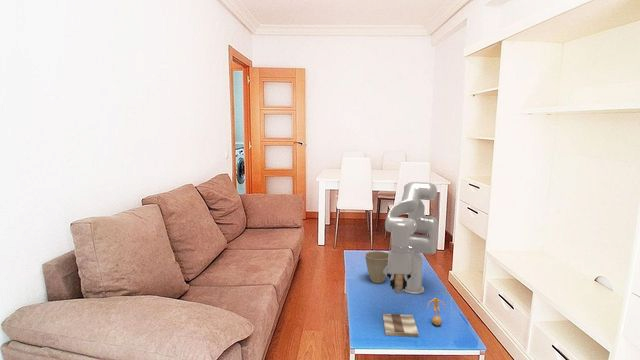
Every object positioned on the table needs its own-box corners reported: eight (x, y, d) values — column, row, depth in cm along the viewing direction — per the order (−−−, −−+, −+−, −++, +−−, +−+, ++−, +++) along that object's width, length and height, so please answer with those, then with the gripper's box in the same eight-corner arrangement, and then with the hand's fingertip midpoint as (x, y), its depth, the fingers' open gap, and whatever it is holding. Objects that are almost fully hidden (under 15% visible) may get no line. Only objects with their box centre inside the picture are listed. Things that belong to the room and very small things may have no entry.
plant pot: (388, 276, 220) (389, 251, 218) (391, 286, 206) (391, 259, 203) (364, 275, 222) (364, 250, 220) (364, 285, 207) (365, 258, 205)
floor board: (382, 316, 172) (382, 313, 172) (412, 318, 171) (412, 314, 171) (385, 335, 156) (385, 331, 156) (418, 337, 155) (418, 333, 155)
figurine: (429, 327, 163) (430, 302, 161) (425, 320, 169) (426, 296, 167) (447, 327, 163) (448, 302, 161) (442, 320, 169) (443, 296, 167)
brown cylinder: (392, 289, 165) (393, 270, 164) (402, 289, 165) (403, 270, 164) (393, 293, 161) (394, 273, 160) (403, 293, 160) (404, 274, 159)
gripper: (417, 247, 163) (415, 285, 166) (380, 245, 165) (378, 283, 167) (420, 252, 156) (418, 292, 158) (381, 250, 158) (380, 290, 160)
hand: (398, 287), depth 163 cm, fingers closed on brown cylinder, 4 cm apart
